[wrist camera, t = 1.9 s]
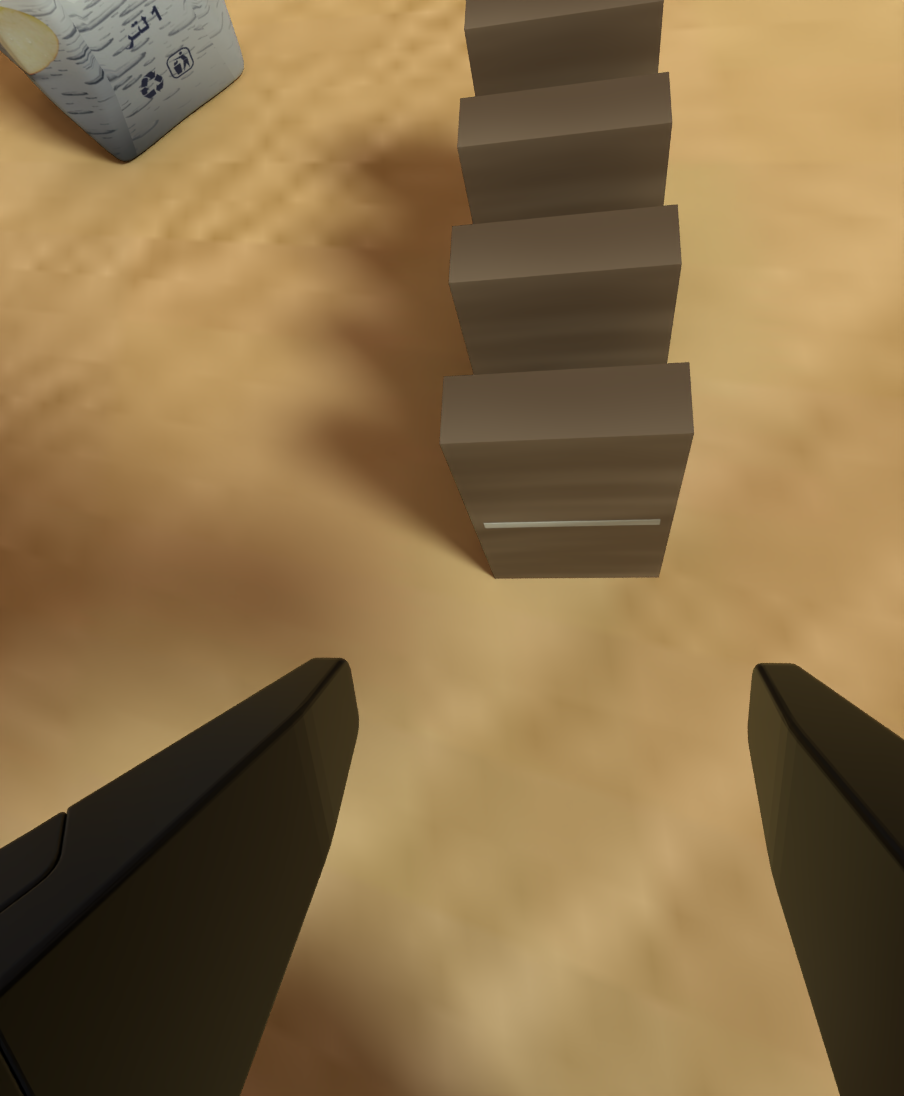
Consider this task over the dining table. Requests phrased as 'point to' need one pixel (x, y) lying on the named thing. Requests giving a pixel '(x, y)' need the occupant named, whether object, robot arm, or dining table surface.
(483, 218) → the domino
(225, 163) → the dining table surface
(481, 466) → the domino
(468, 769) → the dining table surface
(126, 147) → the juice carton
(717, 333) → the dining table surface
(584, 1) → the domino
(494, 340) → the domino
